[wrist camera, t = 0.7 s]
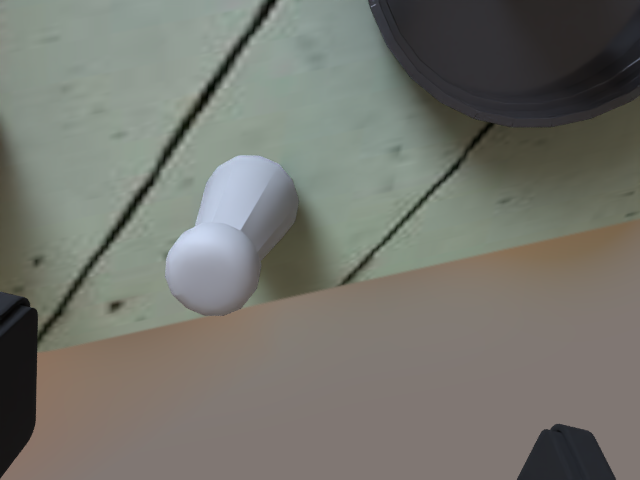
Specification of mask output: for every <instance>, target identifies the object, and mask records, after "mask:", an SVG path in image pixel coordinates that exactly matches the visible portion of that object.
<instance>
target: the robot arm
mask: <svg viewBox="0 0 640 480" xmlns="http://www.w3.org/2000/svg"><path fill="white" fill-rule="evenodd" d="M37 332H38V313H37V310H36V309H35V308H31V307H30V303H29V300H28V299H27V298H25V297H21V296H16V295H12V294H8V293H4V292H0V478H1V477H2V476H3V474H4V473H5V472H6V470H7V469H8V468H9V466H10V465H11V464H12V462H13V461H14V459H15V458H16V457H17V456H18V454H19V453H20V452H21V450H22V449H23V448H24V446H25V445H26V444H27V442H28V441H29V439H30V437H31V435H32V433H33V430H34V427H35V421H36V377H37ZM517 480H616V478H615V476H614V474H613V472H612V471H611V468H610V466H609V465H608V463H607V461H606V459H605V457H604V455H603V453H602V451H601V449H600V447H599V445H598V443H597V441H596V439H595V437H594V436H593V434H592V433H591V432H589V431H587V430H583V429H579V428H575V427H570V426H566V425H562V424H556V425H554V426H553V427H552V428H551V430H548V429H546V430H543V431H542V432H541V434H540V435H539V437H538V439H537V441H536V443H535V445H534V447H533V449H532V451H531V453H530V455H529V457H528V459H527V461H526V463H525V465H524V467H523V468H522V470H521V472H520V474H519V476H518V478H517Z"/></svg>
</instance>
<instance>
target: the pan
mask: <svg viewBox="0 0 640 480" xmlns="http://www.w3.org/2000/svg"><path fill="white" fill-rule="evenodd" d="M368 2H369V5H370V8H371V11H372V13H373V15H374V18H375V20H376V22H377V25H378V27H379V29H380V31H381V34H382V36H383V38H384V41H385V43H386V45H387V47H388V48H389V49H390V51H391V52H392V53H393V55H394V56H395V57H396V59H397V60H398V61H399V63H400V64H401V65H402V67H403V68H404V69H405V71H406V72H407V73H408V75H409V76H410V77H411V78H412V79H413V80H414V81H415V82H416V83H418V84H419V85H420V86H421V87H422V88H424V89H425V90H426V91H427V92H428V93H430V94H431V95H432V96H433V97H434V98H436V99H437V100H438V101H439V102H441V103H443V104H445V105H447V106H449V107H451V108H453V109H455V110H457V111H459V112H461V113H463V114H465V115H467V116H469V117H471V118H473V119H477V120H481V121H485V122H490V123H494V124H499V125H503V126H508V127H555V126H560V125H564V124H569V123H573V122H578V121H583V120H587V119H591V118H594V117H596V116H599V115H601V114H603V113H606V112H608V111H610V110H612V109H615V108H617V107H619V106H622V105H624V104H626V103H628V102H631V101H632V100H634V99H636V98H637V97H638V96H640V0H368Z"/></svg>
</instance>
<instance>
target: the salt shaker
mask: <svg viewBox="0 0 640 480" xmlns="http://www.w3.org/2000/svg"><path fill="white" fill-rule="evenodd" d="M298 204H299V198H298V195H297V192H296V189H295V185H294V182H293V180H292V178H291V177H290V176H289V175H288V174H287V173H286V171H285V170H284V169H283V168H282V167H281V165H280V164H278V163H276V162H273V161H271V160H269V159H266V158H264V157H262V156H241V155H239V156H236V157H234V158H233V159H231V160H229V161H227V162H225V163H223V164H222V165H220V166H218V167H217V169H216V170H215V171H214V173H213V174H212V176H211V177H210V178H209V180H208V181H207V183H206V187H205V190H204V194H203V198H202V202H201V206H200V209H199V213H198V217H197V221H196V225H195V227H193V228H191V229H189V230H187V231H185V232H184V233H183V234H182V235H181V236H180V237H179V238H178V240H177V241H176V242H175V244H174V245H173V247H172V248H171V249H170V251H169V253H168V256H167V259H166V272H165V278H166V280H167V283H168V285H169V288H170V290H171V293H172V295H173V296H174V297H176V298H177V299H178V300H179V301H180V302H181V303H182V304H183V305H184V306H185V307H186V308H188V309H190V310H193V311H195V312H197V313H200V314H202V315H204V316H219V315H220V316H224V315H227V314H229V313H231V312H234V311H236V310H239V309H241V308H242V307H243V305H244V304H245V303H246V302H247V300H248V299H249V298H250V297H251V295H252V294H253V293H254V292H255V290H256V289H257V286H258V281H259V276H260V270H261V262H260V261H261V260H262V259H263V258H264V257H265V256H266V255H267V254H268V252H269V251H270V250H271V249H272V248H273V247H274V246H275V245H276V244H277V243H278V242H279V241H280V239H281V238H282V237H283V236H284V235H285V234H286V232H287V231H288V230H289V228H290V227H291V226H292V225H293V223H294V222H295V219H296V214H297V209H298Z"/></svg>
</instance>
